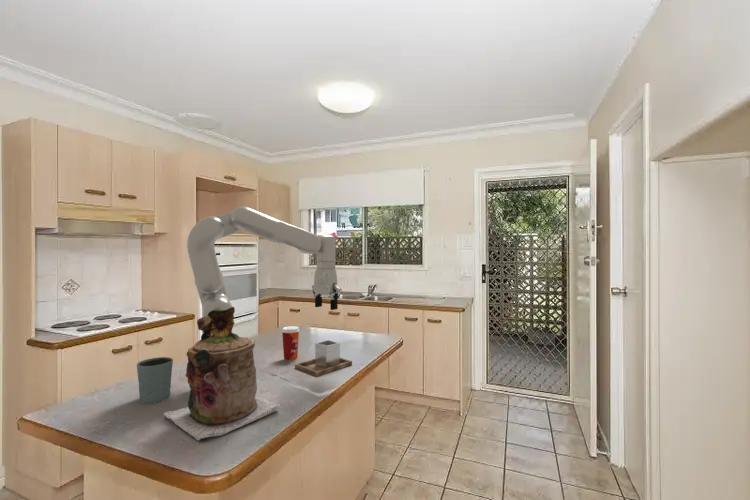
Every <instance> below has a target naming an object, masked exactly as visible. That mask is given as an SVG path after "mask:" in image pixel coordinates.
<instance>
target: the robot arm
mask: <svg viewBox="0 0 750 500" xmlns="http://www.w3.org/2000/svg"><path fill="white" fill-rule="evenodd" d="M242 231H245V232H247V233H249V234H252V235H255V236H257V237H259V238H261V239H265V240H267V241H270V242H273V243H278V244H283V245H288V246H289V247H293V248H295V249H297V251H299V252H300V253H302V254H308V255H309V254H311V255H313V254H316V269H315V272H314V277H313V279H314V280H313V284H312V285H311V289H312V293H313V298H314V307H315V308H320V307H322V306H323V297H322V295H325V296H328V295H329V297H330V299H331V300H330V302H329V303H330V305H329V306H330V311H335V310H338V308H339V307H338V302H339V301H338V300H339V298H340V296H341V292H342V288H341V287H339V285H338V274H337V270H336V237H335V236H334V235H329V234H328V235H325V234H324V235H323V234H322V235H317V234H315V233H313V232H310V231H308V230H306V229H303V228H300V227H299V226H298V227H297V226H295V225H292V224H290V223H287V222H285V221H282V220H279V219H276V218H275V217H272V216H269V215H267V214H265V213H263V212H260V211H259V210H258V211H257V210H255V209H253V208H250V207H248V206H244V205H241V206H238V207H235V208H234V209H233V210H230V211H228V212H225V213H222V214H218V215H215V216H213V215H209V216H205V217H203V218H202V219H200V220H199V221H198V222H196V223H195V225H194V226H192V228H191V230H190V231H189V234H188V237H187V241H186V242H187V243H186V248H187V249H186V250H187V254H188V258H189V261H190V266H191V271H192V273H193V278H194V285H195V286H196V290H197V293H198V297H199V299H200V304H201V307H202V317H205V316H207V315H208V313H209V312H210V311H212V310H218V309H220V310H226V309H228V308H230V307H233V306H232V303H231V301H230V299H229V296H228V293H227V289H226V285H225V281H224V275H223V273H222V272H221V268H220V265H219V262H218V259H217V253H216V250H215V244H216V241H218V240H219V239H222V238H225V237H228V236H231V235H234V234H236V233H239V232H242ZM202 332H203V331H202ZM203 333H204V332H203ZM203 333H202V334H203Z"/></svg>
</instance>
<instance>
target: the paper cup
mask: <svg viewBox="0 0 750 500" xmlns="http://www.w3.org/2000/svg"><path fill="white" fill-rule="evenodd" d="M281 333H282V334H281V335H282V347H283V349H282V350H283V359H284V360H288V361H289V360H290V361H291V360H292V361H293V360H296V359H298V356H299V355H298V354H299V338H300V337H299V336H300V328H299V326H297V325H296V326H295V325H293V326H291V325H290V326H284V327H283V328H282V329H281Z"/></svg>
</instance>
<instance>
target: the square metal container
mask: <svg viewBox="0 0 750 500" xmlns="http://www.w3.org/2000/svg"><path fill="white" fill-rule="evenodd" d="M340 344H341V343H340V342H337V341H334V340H330V339H327V340H324V341H323V340H322V341H319V342H315V343H314V347H315V349H314V350H315V353H314V354H315V358H314V359H315V365H316V366H318V367H321V368H324V369H326V368H329V367H332V366H335V365H338V364H340V358H341V357H340V356H341V354H340V353H341V352H340V351H341V345H340Z"/></svg>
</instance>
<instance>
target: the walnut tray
mask: <svg viewBox="0 0 750 500" xmlns="http://www.w3.org/2000/svg"><path fill="white" fill-rule="evenodd" d="M352 365H353V360H350V359H346V358H342V357H340V364H338V365H335V366H332V367H329V368H326V369H324V368H321V367H318V366H316V365H315V358H312V359H308V360H305V361H302V362H299V363H298V362H297V363H295V364H294V369H296V370H299V371H301V372H304V373H307V374H309V375H312V376H314V377H319V376H323V375H326V374H329V373H331V372H334V371H337V370H341V369H344V368H347V367H350V366H352Z"/></svg>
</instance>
